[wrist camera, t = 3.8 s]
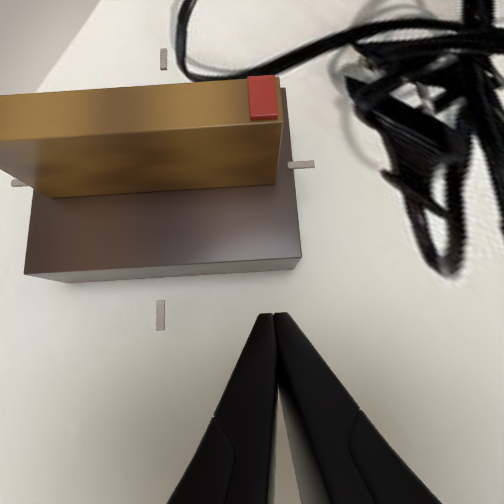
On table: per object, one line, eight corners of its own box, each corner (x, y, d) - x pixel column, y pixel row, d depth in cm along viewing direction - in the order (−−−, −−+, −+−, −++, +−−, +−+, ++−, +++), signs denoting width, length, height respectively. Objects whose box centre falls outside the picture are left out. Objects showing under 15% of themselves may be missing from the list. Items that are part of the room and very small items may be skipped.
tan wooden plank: (49, 198, 16) (-52, 139, 11) (53, 164, 16) (-42, 92, 11) (275, 184, 16) (284, 117, 10) (273, 150, 16) (279, 70, 11)
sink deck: (44, 336, 18) (-11, 340, 14) (66, 101, 21) (28, 57, 18) (317, 320, 17) (332, 320, 14) (293, 86, 21) (299, 39, 18)
